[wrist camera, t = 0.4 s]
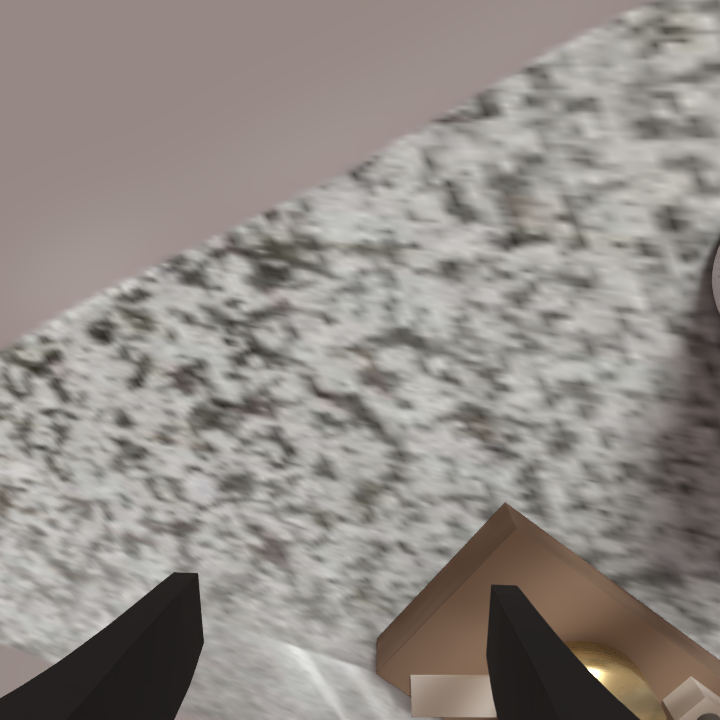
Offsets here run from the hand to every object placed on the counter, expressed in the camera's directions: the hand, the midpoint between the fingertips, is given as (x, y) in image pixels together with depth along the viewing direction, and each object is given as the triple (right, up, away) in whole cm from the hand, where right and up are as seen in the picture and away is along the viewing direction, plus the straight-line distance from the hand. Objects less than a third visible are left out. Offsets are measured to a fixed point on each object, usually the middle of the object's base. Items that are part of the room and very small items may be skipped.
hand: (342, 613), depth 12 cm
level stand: (+10, -8, +11) cm, 17 cm away
